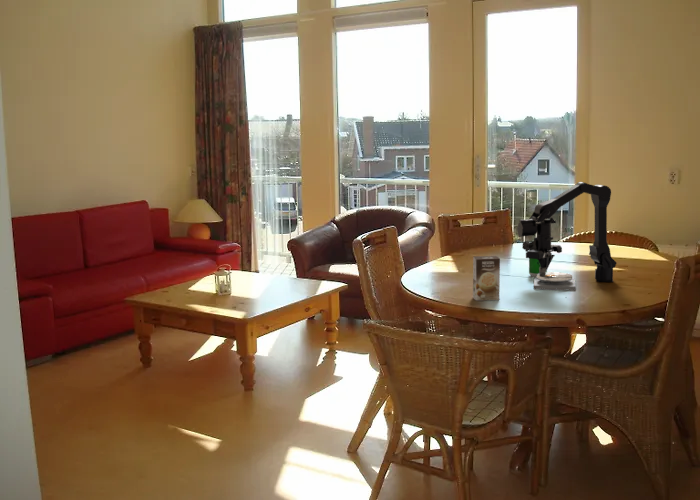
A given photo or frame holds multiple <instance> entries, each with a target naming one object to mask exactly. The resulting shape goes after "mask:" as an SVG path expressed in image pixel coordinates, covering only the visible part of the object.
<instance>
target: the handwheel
mask: <svg viewBox="0 0 700 500" xmlns="http://www.w3.org/2000/svg"><path fill="white" fill-rule="evenodd" d="M536 278H537V279H538V280H541V281H547V282H566V281H570V280H572V279H573V274H571V273H568V272H567V273H566V272H558V271H547V272H546V268H545V267H540V268H539V274H537V277H536Z"/></svg>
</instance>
